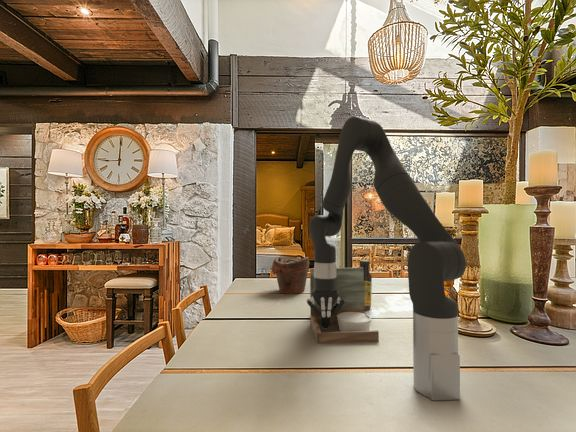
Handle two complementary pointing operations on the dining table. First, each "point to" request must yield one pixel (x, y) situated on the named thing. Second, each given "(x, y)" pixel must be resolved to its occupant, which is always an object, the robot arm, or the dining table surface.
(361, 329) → the ramekin
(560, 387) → the dining table surface
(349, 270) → the cold frame
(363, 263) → the sauce bottle
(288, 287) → the brown flower pot
